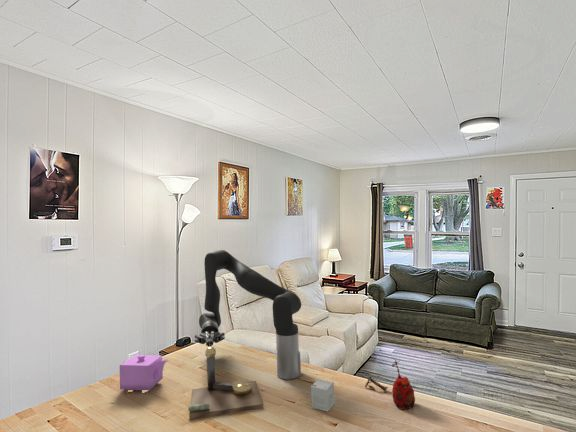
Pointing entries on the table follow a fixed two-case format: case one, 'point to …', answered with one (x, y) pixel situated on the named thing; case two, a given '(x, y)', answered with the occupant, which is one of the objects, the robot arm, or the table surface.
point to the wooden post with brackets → (375, 384)
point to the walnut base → (222, 402)
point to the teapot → (141, 372)
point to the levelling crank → (237, 387)
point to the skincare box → (322, 395)
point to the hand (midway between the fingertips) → (209, 344)
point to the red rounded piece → (403, 392)
